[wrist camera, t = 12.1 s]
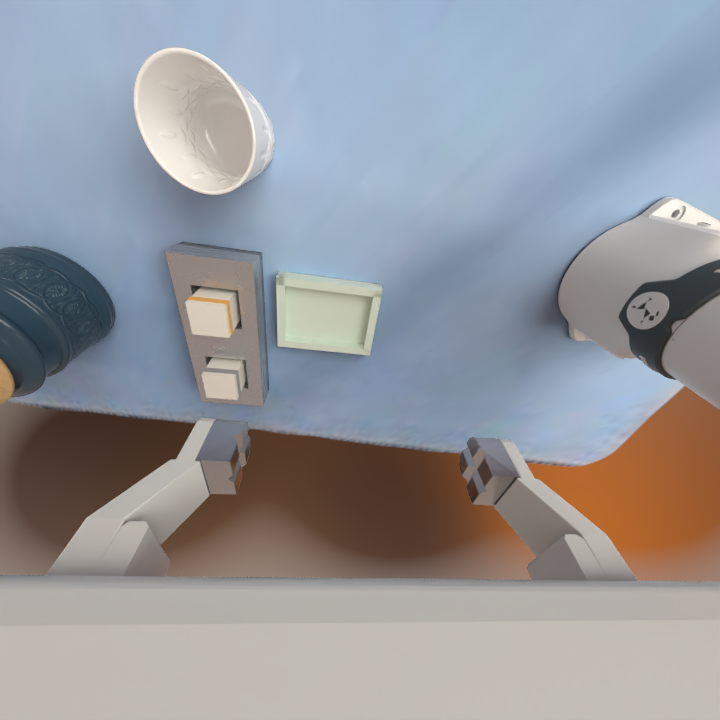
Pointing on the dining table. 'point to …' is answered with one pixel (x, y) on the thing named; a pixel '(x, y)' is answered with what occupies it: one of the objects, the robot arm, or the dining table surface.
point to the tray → (326, 313)
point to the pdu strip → (249, 336)
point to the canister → (45, 316)
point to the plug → (213, 311)
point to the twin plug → (224, 378)
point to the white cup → (201, 122)
